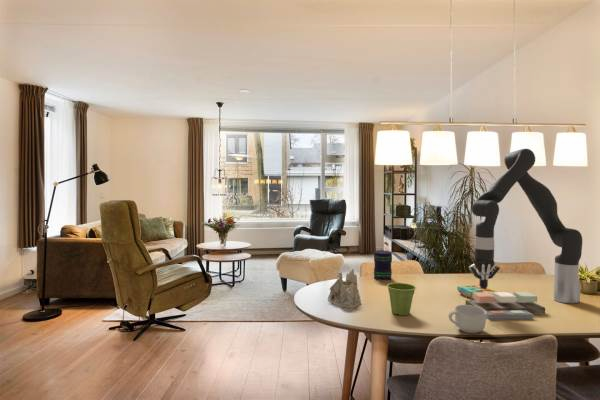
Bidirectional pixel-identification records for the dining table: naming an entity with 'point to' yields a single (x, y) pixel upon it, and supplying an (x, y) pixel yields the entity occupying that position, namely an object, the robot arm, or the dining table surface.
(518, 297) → the key sage
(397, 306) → the plant pot
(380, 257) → the storage jar
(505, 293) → the key cream
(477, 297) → the key terracotta
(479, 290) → the puzzle game
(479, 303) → the keypad base
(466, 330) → the teacup
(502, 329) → the dining table surface
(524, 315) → the card
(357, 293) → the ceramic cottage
